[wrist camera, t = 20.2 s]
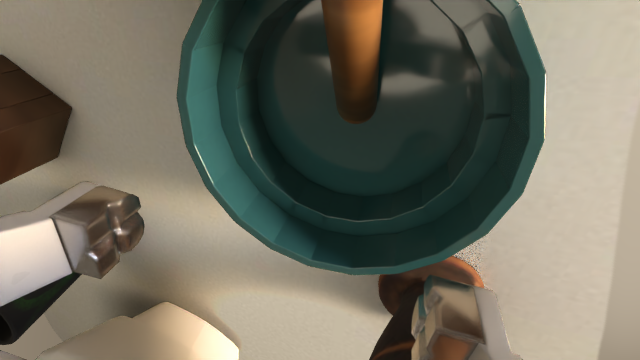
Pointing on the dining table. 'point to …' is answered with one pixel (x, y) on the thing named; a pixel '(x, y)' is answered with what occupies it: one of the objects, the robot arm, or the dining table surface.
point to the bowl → (148, 339)
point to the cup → (30, 308)
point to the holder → (27, 122)
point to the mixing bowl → (363, 128)
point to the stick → (354, 55)
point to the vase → (412, 303)
